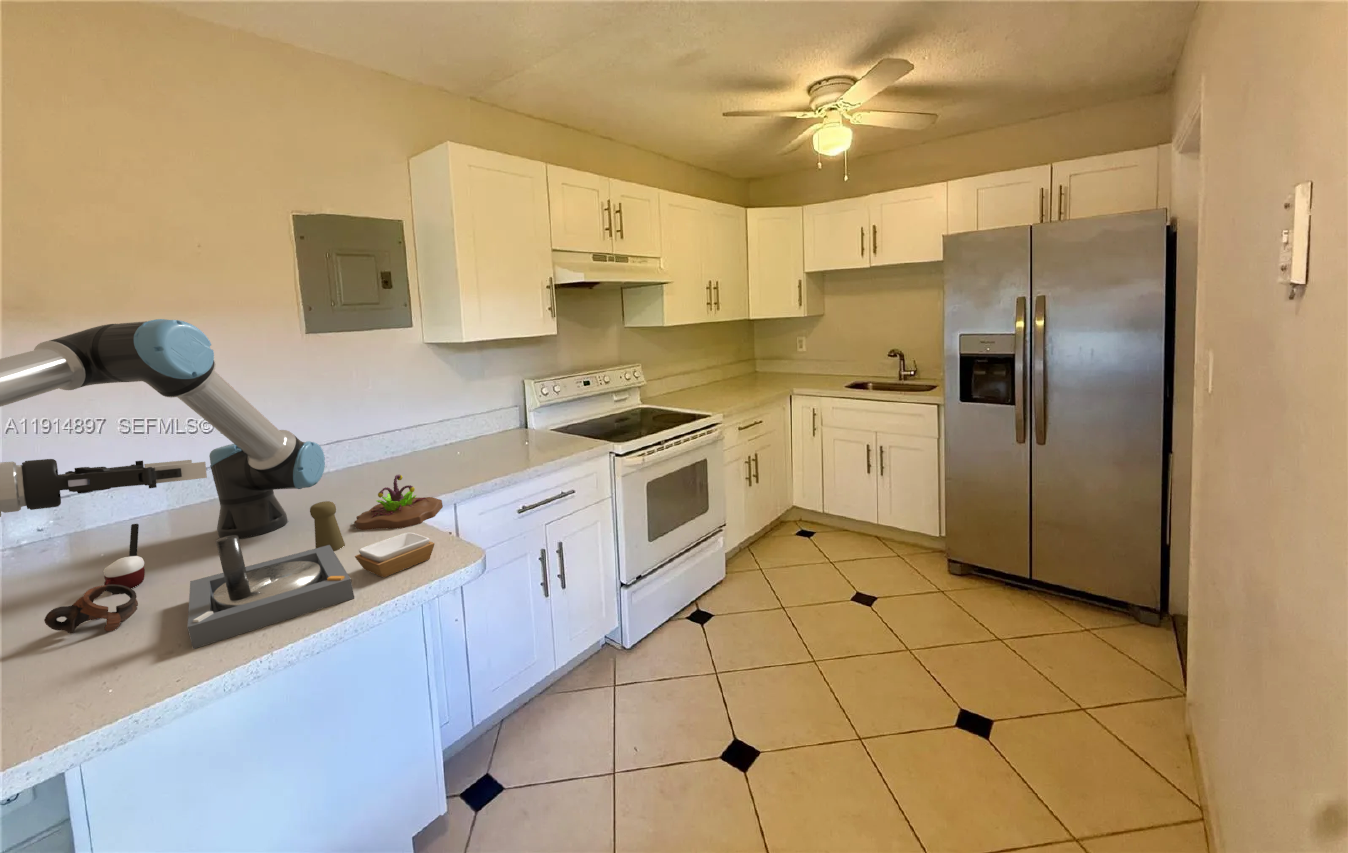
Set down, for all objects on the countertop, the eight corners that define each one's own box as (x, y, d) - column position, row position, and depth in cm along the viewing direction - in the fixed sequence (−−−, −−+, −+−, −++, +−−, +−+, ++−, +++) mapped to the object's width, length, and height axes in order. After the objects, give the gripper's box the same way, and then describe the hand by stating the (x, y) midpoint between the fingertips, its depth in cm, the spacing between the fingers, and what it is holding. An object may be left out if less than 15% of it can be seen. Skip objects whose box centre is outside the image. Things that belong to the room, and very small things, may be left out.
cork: (332, 553, 137) (323, 507, 135) (309, 553, 138) (300, 507, 136) (351, 543, 143) (342, 498, 140) (329, 542, 144) (320, 498, 142)
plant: (454, 503, 169) (448, 464, 167) (419, 529, 150) (411, 486, 148) (386, 506, 171) (380, 468, 169) (343, 532, 152) (335, 489, 150)
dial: (265, 571, 125) (252, 511, 122) (341, 569, 122) (329, 508, 120) (191, 612, 108) (174, 544, 105) (276, 612, 106) (261, 541, 103)
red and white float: (112, 599, 122) (95, 545, 119) (95, 594, 125) (78, 541, 122) (166, 577, 130) (151, 525, 127) (149, 573, 133) (134, 522, 130)
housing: (194, 599, 118) (189, 579, 117) (333, 561, 132) (329, 543, 131) (193, 649, 99) (186, 625, 98) (354, 598, 113) (350, 576, 112)
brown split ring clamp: (118, 612, 116) (131, 576, 115) (138, 642, 112) (151, 606, 111) (31, 627, 106) (43, 588, 104) (50, 662, 102) (63, 621, 100)
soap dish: (381, 582, 120) (376, 558, 119) (356, 572, 126) (352, 549, 125) (437, 559, 130) (434, 536, 129) (412, 550, 135) (408, 529, 134)
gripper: (26, 504, 100) (188, 485, 115) (23, 518, 83) (214, 494, 98) (21, 459, 100) (184, 446, 115) (16, 463, 83) (210, 448, 98)
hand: (198, 468), depth 107 cm, fingers open, 13 cm apart
